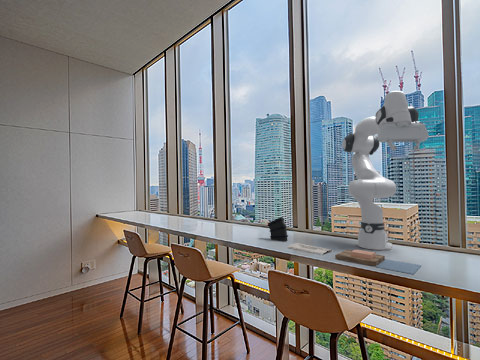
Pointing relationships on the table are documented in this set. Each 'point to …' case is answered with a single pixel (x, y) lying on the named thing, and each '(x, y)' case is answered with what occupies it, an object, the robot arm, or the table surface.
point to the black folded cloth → (278, 229)
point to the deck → (347, 257)
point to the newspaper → (308, 248)
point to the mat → (399, 266)
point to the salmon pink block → (363, 254)
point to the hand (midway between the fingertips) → (405, 149)
